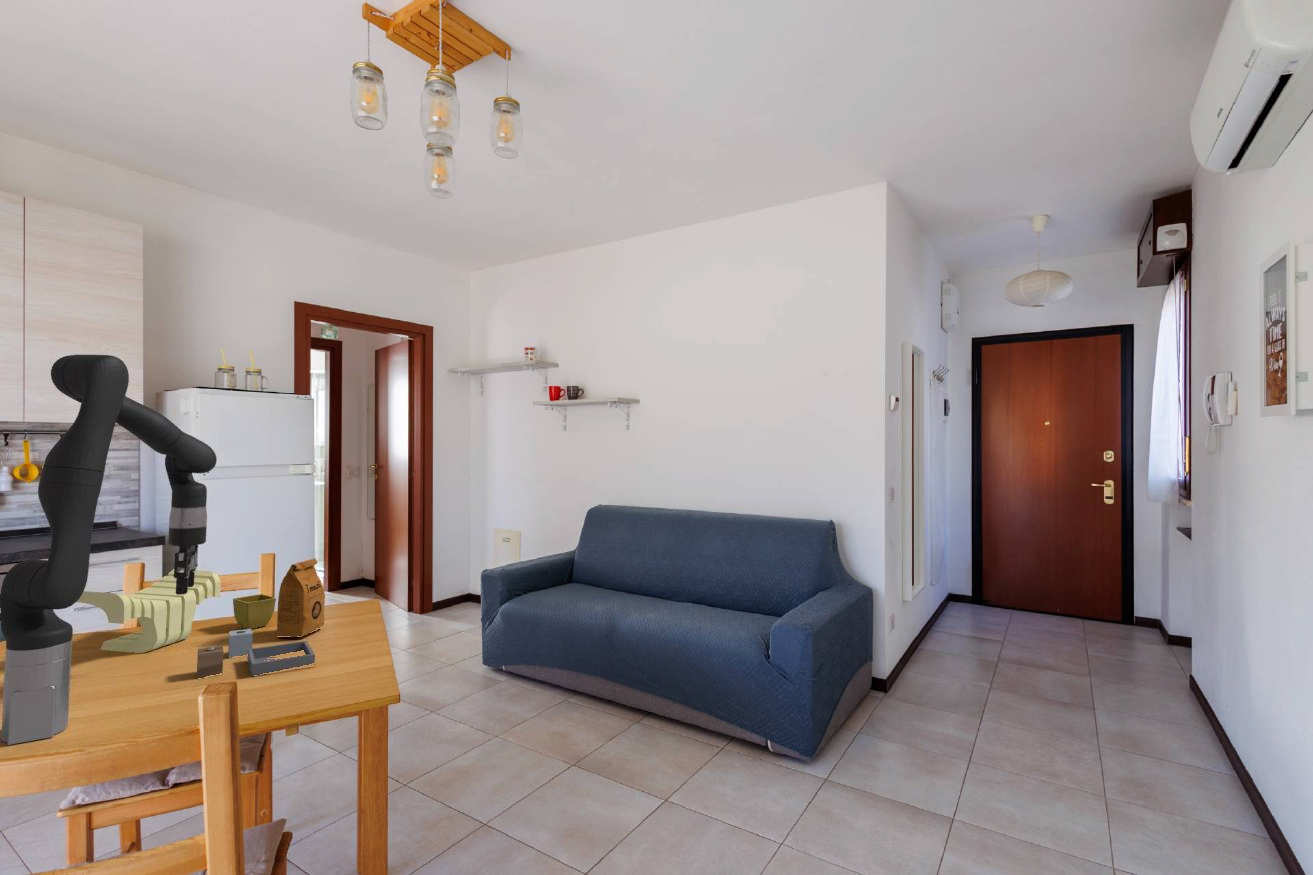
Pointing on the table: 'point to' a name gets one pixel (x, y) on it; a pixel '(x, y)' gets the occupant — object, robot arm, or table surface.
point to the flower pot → (253, 610)
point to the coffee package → (300, 601)
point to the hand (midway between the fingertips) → (185, 590)
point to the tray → (262, 653)
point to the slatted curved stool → (155, 611)
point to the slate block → (239, 642)
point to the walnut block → (209, 661)
